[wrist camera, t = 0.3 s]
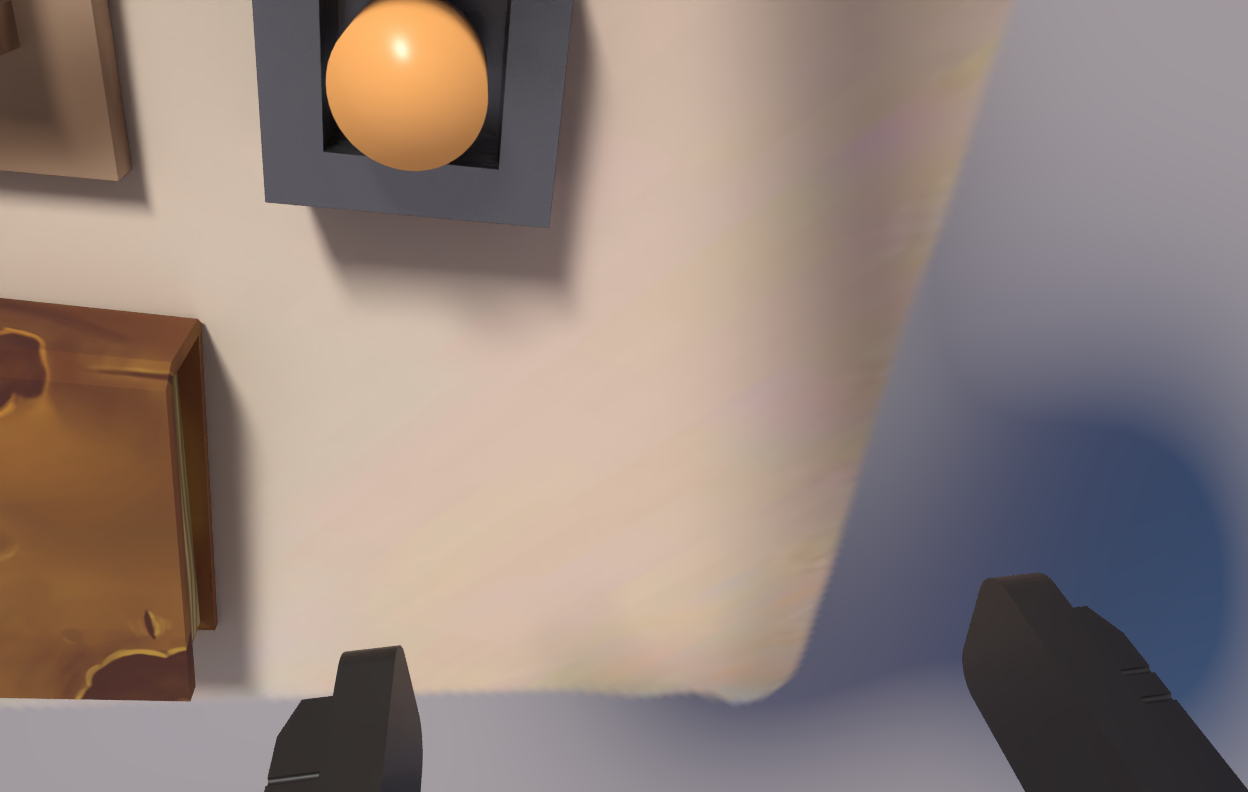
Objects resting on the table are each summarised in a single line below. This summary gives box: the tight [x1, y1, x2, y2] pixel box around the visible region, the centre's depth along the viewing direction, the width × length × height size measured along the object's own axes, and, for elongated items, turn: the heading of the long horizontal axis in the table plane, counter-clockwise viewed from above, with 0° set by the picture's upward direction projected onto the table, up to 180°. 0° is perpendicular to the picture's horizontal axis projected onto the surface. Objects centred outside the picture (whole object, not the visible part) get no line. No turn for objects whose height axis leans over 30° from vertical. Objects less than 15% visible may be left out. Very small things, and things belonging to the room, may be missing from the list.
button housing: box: [252, 0, 573, 228], centre depth 31 cm, size 10×10×5 cm
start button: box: [326, 0, 488, 171], centre depth 28 cm, size 5×5×4 cm
